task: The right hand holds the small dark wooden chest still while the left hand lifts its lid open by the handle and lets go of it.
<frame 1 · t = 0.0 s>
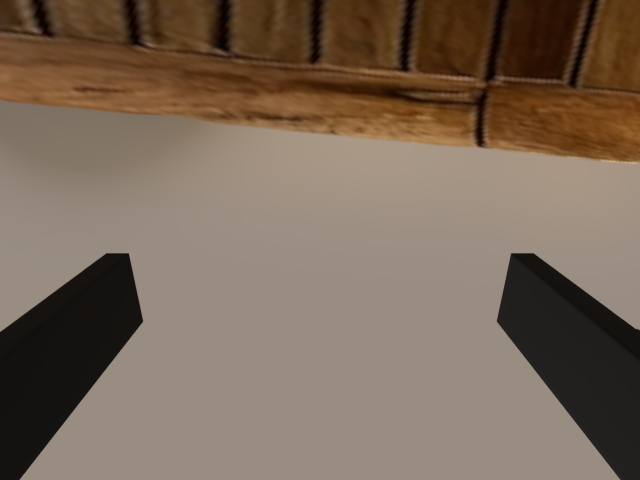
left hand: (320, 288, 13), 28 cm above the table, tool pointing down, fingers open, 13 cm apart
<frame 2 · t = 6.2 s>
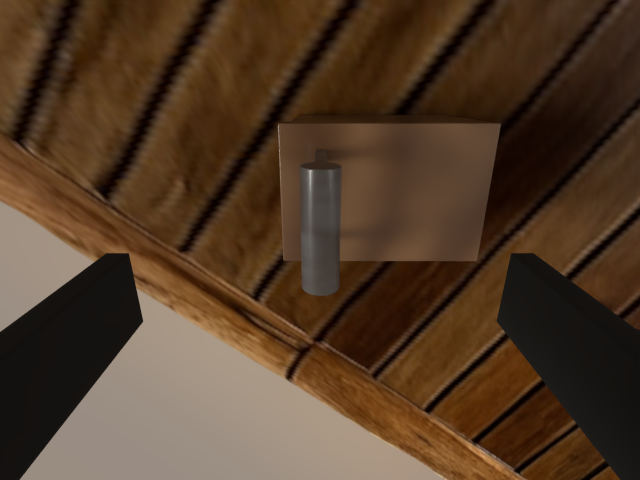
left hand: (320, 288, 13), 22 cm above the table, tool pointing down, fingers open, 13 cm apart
lid: (393, 210, 21), point 13 cm above the table, hinge at 0.0°
chest: (370, 168, 33), on the table
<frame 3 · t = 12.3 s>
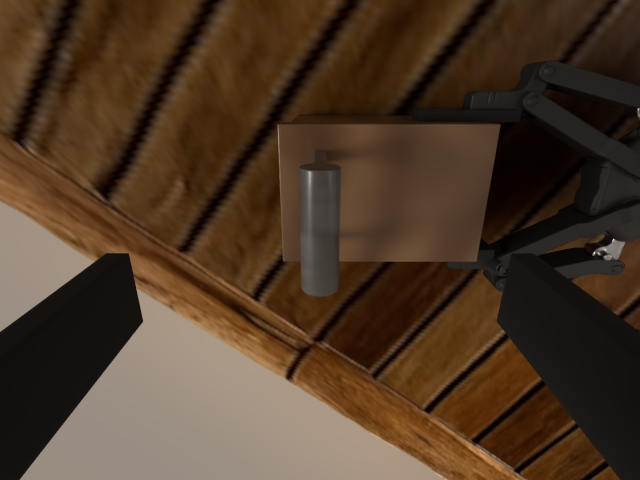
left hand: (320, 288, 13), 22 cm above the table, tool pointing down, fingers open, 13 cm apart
right hand: (410, 186, 27), fingers closed on chest, 9 cm apart
lid: (392, 211, 21), point 13 cm above the table, hinge at 0.0°
chest: (369, 168, 33), on the table, touching right hand
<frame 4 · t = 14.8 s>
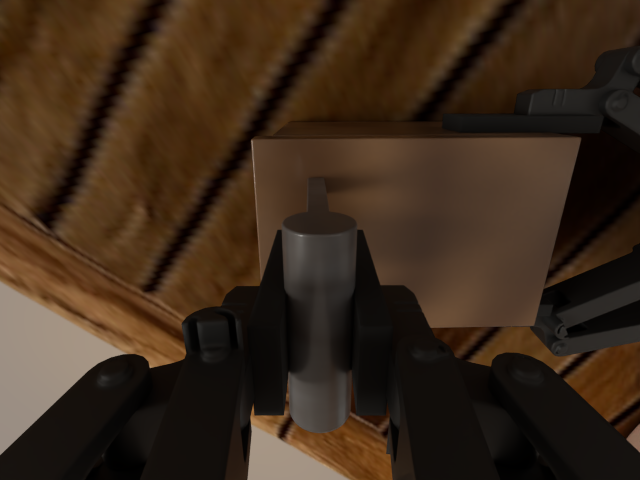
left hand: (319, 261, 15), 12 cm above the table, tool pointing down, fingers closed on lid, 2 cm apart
lid: (428, 273, 14), point 14 cm above the table, hinge at 1.7°, touching left hand
chest: (380, 188, 26), on the table, touching right hand
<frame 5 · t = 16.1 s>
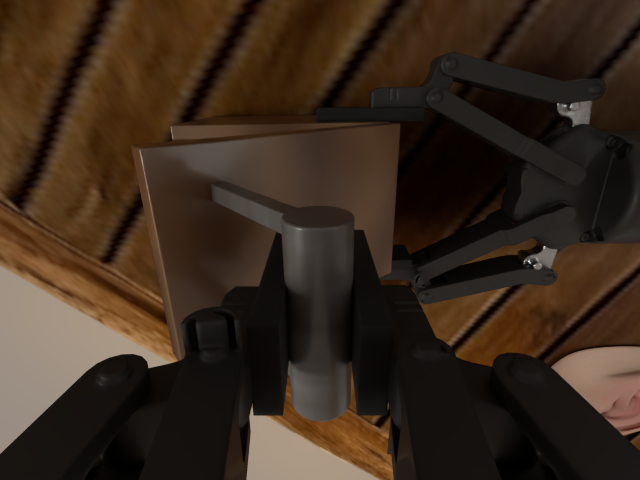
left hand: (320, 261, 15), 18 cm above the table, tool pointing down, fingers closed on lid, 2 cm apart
right hand: (318, 191, 25), fingers closed on chest, 9 cm apart
lid: (347, 248, 16), point 17 cm above the table, hinge at 39.8°, touching left hand
anatomical model: (591, 385, 40), on the table
chest: (294, 171, 31), on the table, touching right hand
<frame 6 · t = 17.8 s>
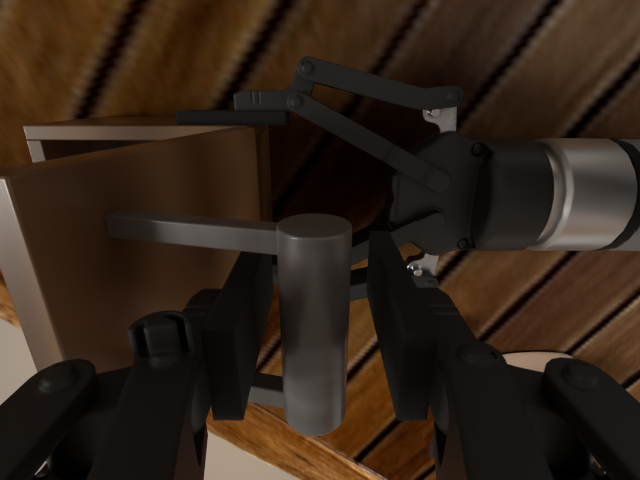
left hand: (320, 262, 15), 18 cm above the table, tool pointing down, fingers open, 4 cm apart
right hand: (194, 194, 25), fingers closed on chest, 9 cm apart
lid: (265, 258, 15), point 17 cm above the table, hinge at 76.1°
anatomical model: (510, 390, 40), on the table
chest: (194, 174, 31), on the table, touching right hand
when the right hand's fingers open (7 cm above the table, at t = 22.1 s): chest stays where it is, on the table.
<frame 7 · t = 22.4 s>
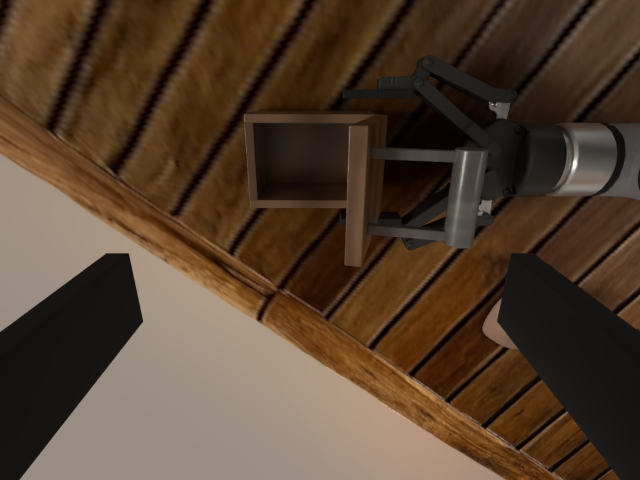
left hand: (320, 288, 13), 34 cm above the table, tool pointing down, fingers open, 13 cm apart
right hand: (341, 160, 38), fingers open, 12 cm apart
lid: (415, 181, 29), point 17 cm above the table, hinge at 75.3°
anatomical model: (530, 316, 53), on the table
chest: (313, 150, 45), on the table
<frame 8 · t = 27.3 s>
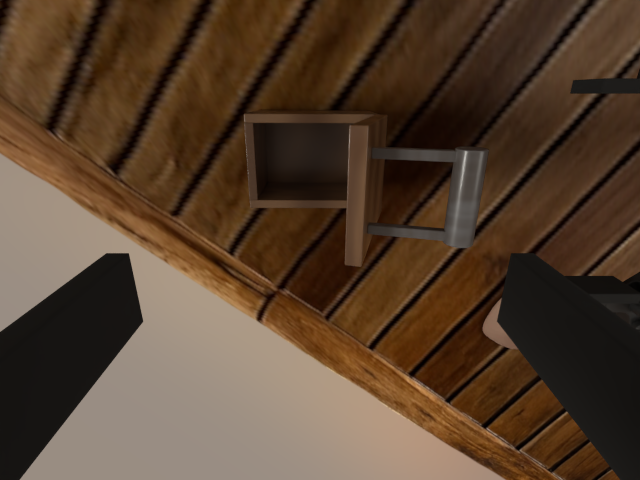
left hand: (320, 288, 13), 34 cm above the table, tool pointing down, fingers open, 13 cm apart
lid: (415, 181, 29), point 17 cm above the table, hinge at 75.3°
anatomical model: (530, 316, 53), on the table
chest: (313, 150, 45), on the table
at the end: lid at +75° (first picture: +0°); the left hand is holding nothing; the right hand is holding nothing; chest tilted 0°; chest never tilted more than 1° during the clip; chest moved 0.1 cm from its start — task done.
